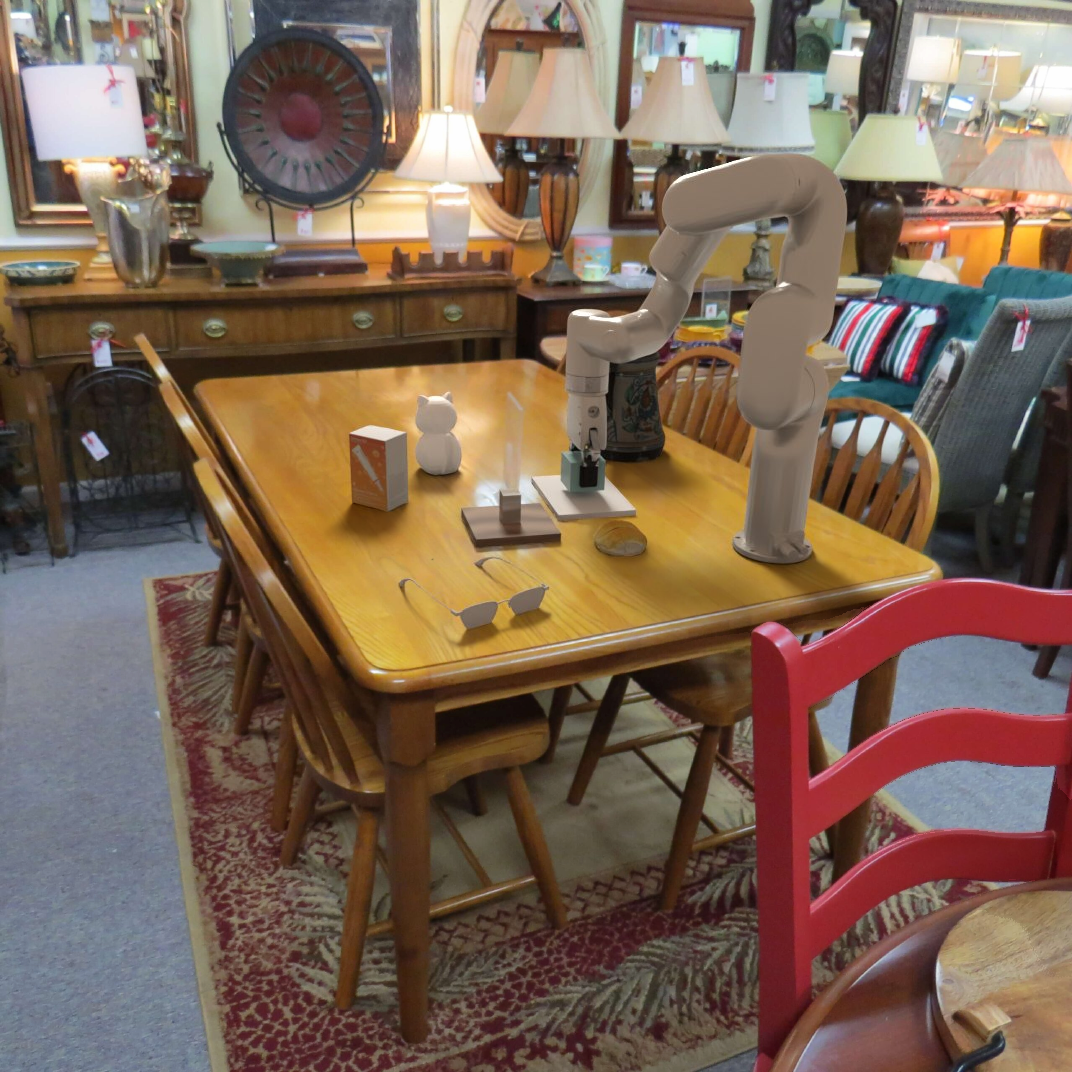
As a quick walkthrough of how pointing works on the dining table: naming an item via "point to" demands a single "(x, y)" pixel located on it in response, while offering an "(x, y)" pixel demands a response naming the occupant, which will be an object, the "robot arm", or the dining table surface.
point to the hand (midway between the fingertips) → (582, 479)
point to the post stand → (510, 522)
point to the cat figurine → (437, 435)
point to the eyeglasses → (487, 610)
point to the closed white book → (582, 500)
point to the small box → (379, 467)
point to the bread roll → (620, 538)
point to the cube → (572, 472)
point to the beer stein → (633, 412)
